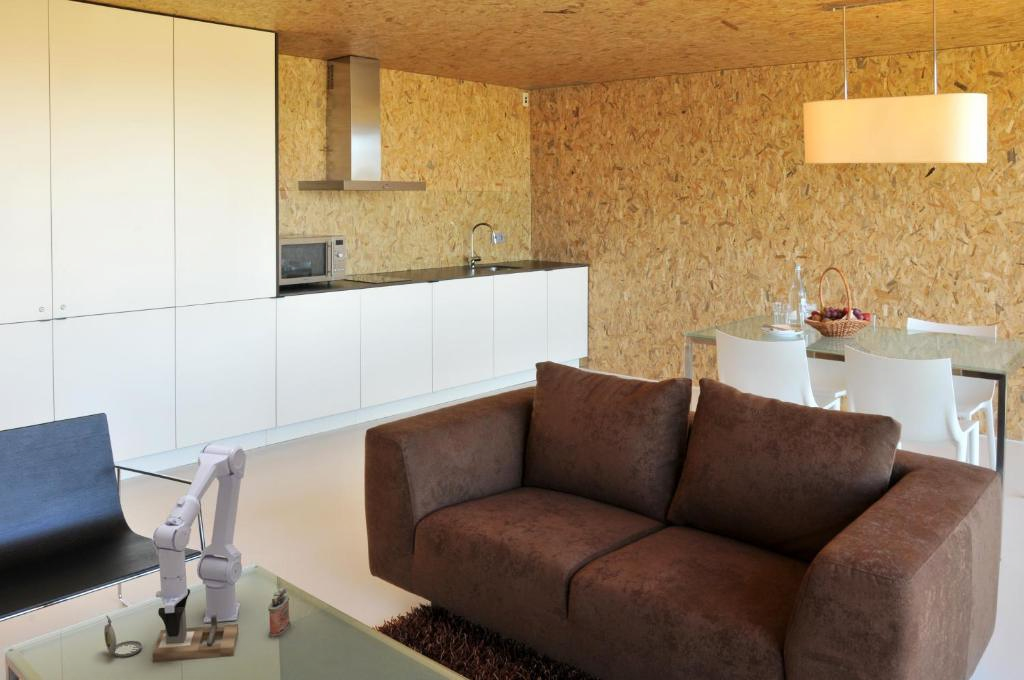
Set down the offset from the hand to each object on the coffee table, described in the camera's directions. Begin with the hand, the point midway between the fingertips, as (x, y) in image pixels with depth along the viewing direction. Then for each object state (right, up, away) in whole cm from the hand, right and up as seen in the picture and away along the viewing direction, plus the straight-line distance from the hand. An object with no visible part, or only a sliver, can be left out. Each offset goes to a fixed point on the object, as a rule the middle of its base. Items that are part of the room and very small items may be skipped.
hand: (176, 628), depth 227 cm
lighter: (+22, -4, +10) cm, 25 cm away
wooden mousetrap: (+4, -5, +2) cm, 7 cm away
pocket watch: (-12, -5, -1) cm, 14 cm away
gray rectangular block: (0, -3, 0) cm, 3 cm away
